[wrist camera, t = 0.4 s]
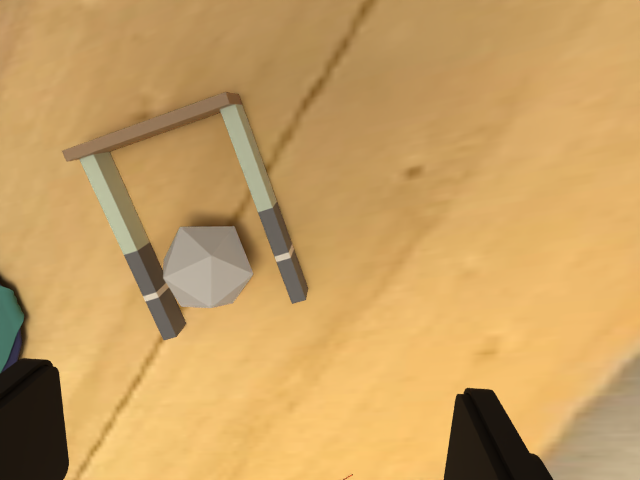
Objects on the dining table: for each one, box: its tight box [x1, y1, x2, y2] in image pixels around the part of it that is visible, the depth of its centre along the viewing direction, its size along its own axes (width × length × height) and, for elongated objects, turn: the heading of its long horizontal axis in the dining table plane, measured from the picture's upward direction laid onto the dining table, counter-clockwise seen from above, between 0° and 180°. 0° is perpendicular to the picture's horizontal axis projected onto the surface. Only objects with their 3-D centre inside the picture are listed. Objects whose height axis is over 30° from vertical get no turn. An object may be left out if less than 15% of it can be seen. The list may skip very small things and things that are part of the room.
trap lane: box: [62, 92, 308, 340], centre depth 44 cm, size 21×16×5 cm
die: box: [163, 226, 253, 308], centre depth 43 cm, size 8×9×10 cm
